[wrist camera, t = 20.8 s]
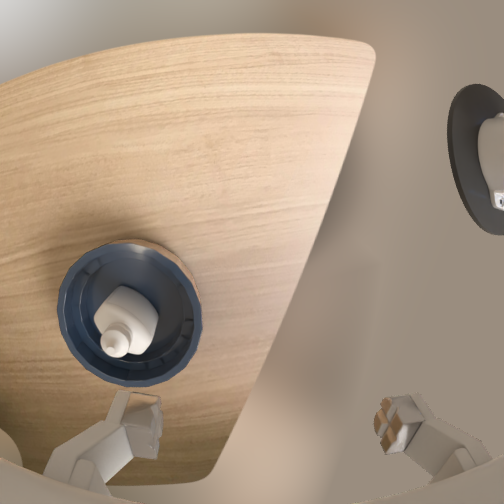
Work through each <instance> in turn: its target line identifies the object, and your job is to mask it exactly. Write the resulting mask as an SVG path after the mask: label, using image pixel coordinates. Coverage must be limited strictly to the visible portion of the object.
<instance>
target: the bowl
mask: <svg viewBox="0 0 504 504" xmlns="http://www.w3.org/2000/svg"><path fill="white" fill-rule="evenodd" d="M119 286H125V287H128V288H131V289H133V290H135V291H137V292H139V293H140V294H142V295H143V296H144V297H145V298H147V299H148V300H149V301H150V303H151V304H152V305H153V306H154V308H155V309H156V311H157V313H158V316H159V318H158V322H157V325H156V329H155V333H154V336H153V339H152V342H151V344H150V345H149V346H148V348H147V349H146V350H145V351H144V352H143V353H142V354H138V355H137V354H132V353H128V352H127V354H126V355H124V356H122V357H118V358H117V357H111V356H110V355H108V354H106V353H105V351H104V350H103V349H102V346H101V342H100V341H101V336H102V334H101V332H100V331H99V329H98V328H97V326H96V324H95V321H94V315H95V313H96V312H97V310H98V309H99V307H100V306H101V305H102V304H103V302H104V301H105V300H106V299H107V298H108V297H109V296H110V294H111V293H112V292H113V291H114V290H115V289H116V288H117V287H119ZM57 314H58V320H59V325H60V331H61V334H62V336H63V338H64V340H65V342H66V344H67V346H68V348H69V350H70V352H71V353H72V354H73V355H74V357H75V358H76V359H77V360H78V361H79V362H80V363H81V364H82V365H83V366H84V367H85V369H87V370H88V371H90V372H91V373H93V374H95V375H96V376H98V377H99V378H101V379H103V380H104V381H107V382H110V383H114V384H117V385H121V386H124V387H149V386H152V385H155V384H159V383H162V382H165V381H168V380H169V379H171V378H172V377H173V376H175V375H176V374H177V373H179V372H180V371H181V370H183V369H184V368H185V367H186V366H187V364H188V363H189V361H190V360H191V358H192V357H193V356H194V354H195V353H196V351H197V349H198V345H199V341H200V337H201V334H202V330H203V325H202V310H201V301H200V294H199V291H198V289H197V286H196V284H195V281H194V279H193V276H192V274H191V272H190V271H189V270H188V269H187V267H186V266H185V265H184V264H183V263H182V261H181V260H180V259H179V258H178V257H177V256H176V255H174V254H173V253H171V252H170V251H168V250H167V249H165V248H164V247H162V246H161V245H159V244H155V243H152V242H148V241H145V240H141V239H126V240H117V241H114V242H111V243H108V244H106V245H103V246H101V247H99V248H96V249H94V250H91V251H89V252H87V253H85V254H84V255H83V256H82V257H81V258H80V259H79V260H78V261H77V262H76V263H75V264H73V265H72V266H71V267H70V269H69V270H68V272H67V274H66V276H65V278H64V280H63V282H62V284H61V286H60V290H59V297H58V305H57Z"/></svg>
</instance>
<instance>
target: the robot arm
mask: <svg viewBox="0 0 504 504" xmlns="http://www.w3.org/2000/svg"><path fill="white" fill-rule="evenodd" d="M478 155H479V161H480V165H481V169H482V173H483V175H484V178H485V180H486V183H487V185H488V188H489V192H490V198H491V203H492V206H493V207H494V208H496V209H499V210H502V211H504V113H498V114H497V115H496V116H495V118H491V119H487V120H485V121H484V122H483V123H482V125H481V127H480V130H479V134H478ZM161 404H162V403H161V397H160V396H155V395H149V394H143V393H137V392H130V391H124V390H118V391H117V392H116V395H115V397H114V399H113V402H112V404H111V407H110V409H109V412H108V414H107V417H106V419H105V421H102V420H101V421H99V422H98V423H96V424H95V425H93V426H91V427H90V428H88V429H87V430H85V431H83V432H82V433H80V434H78V435H77V436H75V437H74V438H72V439H70V440H69V441H67V442H65V443H64V444H62V445H60V446H59V447H57V448H55V449H54V450H53V453H52V455H51V457H50V459H49V461H48V463H47V466H46V468H45V470H44V472H43V475H40V474H38V473H35V472H33V471H30V470H28V469H26V468H23V467H21V466H18V465H16V464H14V463H12V462H10V461H7V460H5V459H3V458H1V457H0V504H145V503H139V502H133V501H129V500H124V499H120V498H115V497H112V496H111V494H110V492H109V490H108V489H107V486H106V485H105V483H106V482H107V481H108V480H109V479H110V478H111V477H113V476H114V475H115V474H116V473H117V472H118V471H119V470H120V469H121V468H123V467H124V466H125V465H126V464H127V463H128V462H129V461H130V460H131V459H132V458H133V456H135V457H142V458H149V459H157V456H158V451H159V446H160V445H159V439H158V438H160V437H161V436H162V431H163V412H162V411H161V410H160V408H161ZM381 406H382V408H381V409H380V410H379V411H378V412H377V413H376V415H375V418H374V429H375V432H376V434H377V435H378V436H380V437H381V438H382V439H381V442H380V444H381V446H382V448H383V450H384V452H385V455H387V454H393V453H399V452H404V453H405V454H406V455H407V456H409V457H410V458H411V459H412V460H413V461H415V462H416V463H417V464H418V465H420V466H421V467H422V468H423V469H425V470H426V471H427V472H428V473H429V474H431V475H432V476H433V478H432V480H431V481H430V482H429V483H428V484H427V485H426V486H423V487H420V488H416V489H413V490H409V491H406V492H402V493H398V494H394V495H391V496H386V497H382V498H378V499H373V500H368V501H363V502H358V503H352V504H504V454H503V455H501V456H499V457H497V458H495V459H492V457H491V456H490V455H489V453H488V451H487V450H486V448H485V447H484V445H483V444H482V442H481V441H480V440H479V439H477V438H475V437H473V436H471V435H469V434H468V433H466V432H464V431H462V430H460V429H458V428H456V427H455V426H453V425H451V424H449V423H447V422H446V421H443V420H442V419H440V418H436V417H435V416H434V414H433V413H432V411H431V409H430V408H429V406H428V405H427V403H426V402H425V400H424V399H423V397H422V396H421V394H419V393H411V394H407V395H398V396H391V397H385V398H384V399H383V400H382V402H381Z"/></svg>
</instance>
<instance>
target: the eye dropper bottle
mask: <svg viewBox="0 0 504 504" xmlns="http://www.w3.org/2000/svg"><path fill="white" fill-rule="evenodd" d="M158 318H159V316H158V313H157V311H156V309H155V308H154V306H153V305H152V304H151V303H150V301H149V300H148V299H147V298H145V297H144V296H143V295H142V294H140V293H139V292H137V291H135V290H133V289H131V288H128V287H125V286H119V287H117V288H116V289H115V290H114V291H113V292H112V293H111V294H110V296H109V297H108V298H107V299H106V300H105V301H104V302H103V304H102V305H101V306H100V307H99V309H98V310H97V312H96V313H95V315H94V321H95V324H96V326H97V328H98V329H99V331H100V332H101V334H102V336H101V341H100V342H101V346H102V349H103V350H104V351H105V353H106V354H108V355H110V356H111V357H117V358H118V357H122V356H124V355H126V354H127V352H128V353H132V354H137V355H138V354H142V353H143V352H144V351H145V350H146V349H147V348H148V346H149V345H150V344H151V342H152V339H153V336H154V333H155V329H156V325H157V322H158Z"/></svg>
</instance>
